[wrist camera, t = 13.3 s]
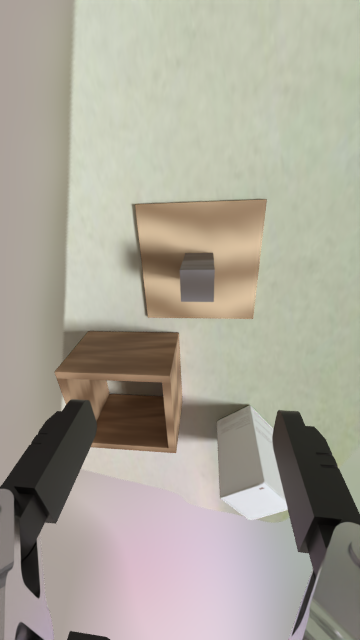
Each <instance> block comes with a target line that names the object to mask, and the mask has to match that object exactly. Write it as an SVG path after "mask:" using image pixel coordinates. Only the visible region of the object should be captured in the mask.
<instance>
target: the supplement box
mask: <svg viewBox="0 0 360 640" xmlns="http://www.w3.org/2000/svg"><path fill="white" fill-rule="evenodd" d="M272 436H273V428H272V427H271V426H270V425H269V424H268V423H267V422H266V421H265V420H264V419H263V418H262V417H261V416H260V415H259V414H258V413H257V412H256V411H255V410H254V409H253V408H252V407H251V406H250V405H249V406H247V407H245V408H243V409H241V410H239V411H236V412H234V413H232V414H230V415H228V416H226V417H224V418H222V419H220V420H218V421H217V441H218V463H219V486H220V499H222V500H223V501H224V502H226V503H227V504H228V505H230V506H231V507H232V508H234V509H235V510H236V511H238V512H239V513H240V514H242V515H243V516H244V517H245V518H247V519H248V520H254V519H258V518H261V517H265V516H268V515H272V514H275V513H278V512H282V511H285V510H288V508H287V504H286V499H285V495H284V491H283V487H282V483H281V479H280V475H279V471H278V467H277V462H276V458H275V454H274V450H273V442H272Z"/></svg>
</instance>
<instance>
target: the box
mask: <svg viewBox="0 0 360 640" xmlns="http://www.w3.org/2000/svg"><path fill="white" fill-rule="evenodd" d="M55 375H56V377H57V381H58V383H59V386H60V389H61V392H62V394H63V397H64V400H65V403H66V405H67V403H68V402H69V401H70V400H71V399H78V400H89V401H90V403H91V406H92V409H93V412H94V415H95V419H96V422H97V431H96V435H95V438H94V440H93V443H92V445H91V447H96V448H111V449H125V450H139V451H153V452H167V453H176V450H177V442H178V433H179V425H180V417H181V409H182V385H181V366H180V346H179V333H163V332H103V331H88V332H87V333H86V335H85V336H84V337H83V338H82V339H81V341H80V342H79V343H78V344H77V345H76V347H75V348H74V349H73V350H72V351H71V353H70V354H69V355H68V356H67V357H66V359H65V360H64V361H63V362H62V363H61V365H60V366H59V367H58V368H57V369H56V371H55ZM106 380H112V381H137V382H162V388H163V396H143V395H121V394H110V393H109V389H108V385H107V381H106Z"/></svg>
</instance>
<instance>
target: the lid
mask: <svg viewBox="0 0 360 640" xmlns="http://www.w3.org/2000/svg"><path fill="white" fill-rule="evenodd" d="M266 202H267V199H262V200H236V201H210V202H184V203H157V204H135V208H136V217H137V225H138V234H139V243H140V252H141V260H142V269H143V278H144V287H145V296H146V304H147V313H148V318H234V319H253V315H254V306H255V297H256V288H257V280H258V271H259V262H260V254H261V245H262V236H263V228H264V219H265V210H266Z"/></svg>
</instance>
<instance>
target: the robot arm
mask: <svg viewBox="0 0 360 640" xmlns="http://www.w3.org/2000/svg"><path fill="white" fill-rule="evenodd" d="M96 431H97V422H96V419H95V415H94V412H93V409H92V406H91V403H90V401H89V400H78V399H71V400H70V401H69V402H68V403H67V405H66V406H65V408H64V409H63V411H57V412H56V413H55V414H54V415H53V416H51V418H49V419H48V420H47V421H46V422H45V424H44V425H43V426H42V428H41V429H40V431H39V433H38V435H36V437H35V438H34V439H33V441H32V443H31V445H29V447H28V448H27V450H26V451H25V452H24V454H23V455H22V457H21V458H20V460H19V461H18V463H17V464H16V465H15V467H14V468H13V470H12V471H11V473H10V474H9V476H8V477H7V479H6V480H5V481H4V483H3V484H2V485H1V487H0V640H54V632H53V625H52V619H51V615H50V612H49V609H48V606H47V602H46V596H45V584H44V572H43V560H42V548H41V536H40V531H41V529H42V527H43V525H44V523H45V522H46V523H56V522H57V520H58V518H59V515H60V513H61V511H62V509H63V507H64V505H65V502H66V500H67V498H68V496H69V493H70V491H71V489H72V487H73V485H74V482H75V480H76V478H77V476H78V474H79V471H80V469H81V467H82V465H83V462H84V460H85V458H86V456H87V454H88V451H89V449H90V447H91V445H92V443H93V440H94V438H95V435H96ZM272 442H273V450H274V454H275V458H276V462H277V467H278V471H279V475H280V479H281V483H282V487H283V491H284V495H285V499H286V504H287V508H288V512H289V516H290V520H291V524H292V528H293V532H294V536H295V540H296V545H297V549H298V552H303V553H309V555H310V559H311V562H312V566H313V569H312V572H311V575H310V578H309V580H308V583H307V586H306V589H305V592H304V595H303V598H302V601H301V604H300V607H299V610H298V613H297V616H296V619H295V622H294V625H293V627H292V630H291V633H290V636H289V639H288V640H360V514H359V512H358V509H357V507H356V505H355V503H354V501H353V498H352V496H351V494H350V492H349V490H348V488H347V485H346V483H345V481H344V479H343V477H342V474H341V473H340V470H339V469H338V467H337V463H336V461H335V459H334V457H333V456H332V452H331V450H330V448H329V446H328V444H327V442H326V439H325V438H324V437H323V436H322V435H321V434H320V433H319V431H318V430H317V429H316V428H315V427H312V426H305V424H304V422H303V419H302V417H301V415H300V413H299V412H298V411H282V410H279V411H278V412H277V416H276V421H275V425H274V430H273V436H272ZM67 640H110V639H108V638H107V637H103V636H97V635H91V634H84V633H79V632H72V631H70V633H69V636H68V639H67Z"/></svg>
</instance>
